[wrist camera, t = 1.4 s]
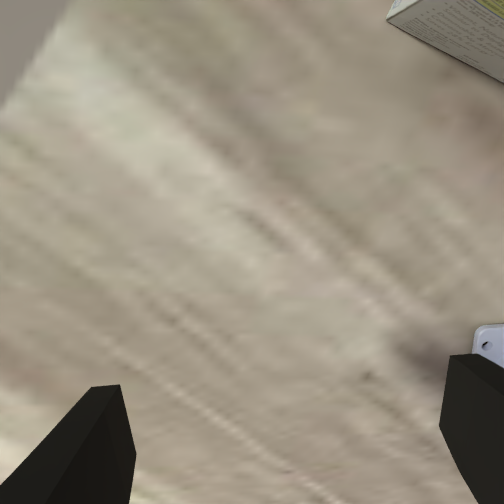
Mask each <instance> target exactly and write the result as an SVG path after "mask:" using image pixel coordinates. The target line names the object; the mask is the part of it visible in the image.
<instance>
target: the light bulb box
mask: <svg viewBox="0 0 504 504" xmlns="http://www.w3.org/2000/svg"><path fill="white" fill-rule="evenodd" d="M386 21H387V22H390V23H391V24H393V25H395V26H396V27H398V28H400V29H402V30H404V31H406V32H408V33H409V34H411V35H413V36H415V37H417V38H419V39H421V40H423V41H425V42H427V43H429V44H430V45H432V46H434V47H436V48H438V49H440V50H442V51H444V52H446V53H448V54H450V55H451V56H453V57H455V58H457V59H459V60H461V61H463V62H465V63H467V64H469V65H471V66H473V67H475V68H477V69H479V70H481V71H482V72H484V73H486V74H488V75H490V76H492V77H493V78H495V79H497V80H499V81H501V82H503V83H504V0H395V1H394V3H393V5H392V7H391V9H390V11H389V13H388V15H387V17H386Z"/></svg>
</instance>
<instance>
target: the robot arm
mask: <svg viewBox="0 0 504 504" xmlns="http://www.w3.org/2000/svg"><path fill="white" fill-rule="evenodd" d="M485 342H488V343H487V344H486V345H484V346H482V344H483V343H485ZM439 427H440V430H441V432H442V434H443V437H444V439H445V441H446V443H447V446H448V448H449V450H450V452H451V455H452V457H453V459H454V461H455V463H456V465H457V467H458V469H459V471H460V473H461V475H462V477H463V479H464V480H465V482H466V484H467V485H468V487H469V489H470V490H471V492H472V494H473V495H474V497H475V499H476V500H477V502H478V504H504V324H491V325H483V326H481V327H479V328H478V329H477V330H476V332H475V335H474V341H473V348H472V354H464V355H452V356H450V359H449V365H448V371H447V378H446V384H445V391H444V397H443V403H442V410H441V416H440V423H439ZM135 461H136V450H135V446H134V441H133V437H132V433H131V429H130V425H129V420H128V416H127V412H126V408H125V404H124V400H123V395H122V391H121V387H120V385H109V386H97V387H91V388H90V389H89V390H88V391H87V392H86V393H85V394H84V396H83V397H82V398H81V399H80V400H79V401H78V402H77V403H76V404H75V405H74V406H73V408H72V409H71V410H70V411H69V412H68V413H67V414H66V415H65V416H64V417H63V419H62V420H61V421H60V422H59V423H58V424H57V425H56V426H55V427H54V429H53V430H52V431H51V432H50V433H49V434H48V435H47V436H46V437H45V438H44V440H43V441H42V442H41V443H40V444H39V445H38V446H37V447H36V448H35V449H34V450H33V451H32V452H31V454H30V455H29V456H28V457H27V458H26V459H25V460H24V461H23V462H22V463H21V464H20V465H19V466H18V467H17V468H16V470H15V471H14V472H13V473H12V474H11V475H10V476H9V477H8V478H7V479H6V480H5V481H4V482H3V483H2V484H1V485H0V504H129V500H130V494H131V488H132V482H133V475H134V468H135Z"/></svg>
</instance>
